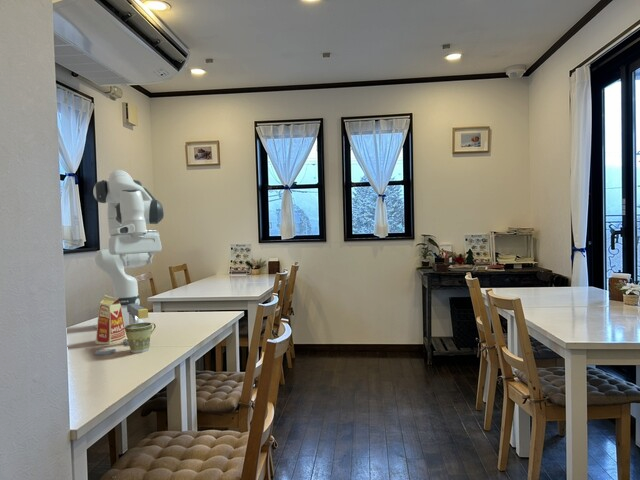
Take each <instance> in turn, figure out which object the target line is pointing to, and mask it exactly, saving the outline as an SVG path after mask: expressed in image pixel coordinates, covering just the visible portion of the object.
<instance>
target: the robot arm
mask: <svg viewBox="0 0 640 480" xmlns="http://www.w3.org/2000/svg"><path fill="white" fill-rule="evenodd" d="M108 176H109V177H108V178H107V179H108V180H107V179H106V180H105V179H103V180H100V181H97V182H96V183H94V186H93V197H94V199H95V200H96V201H97V202H98V203H100V204H107V212H106V213H107V225H108V226H107V228H108V233H109V234H108V235H109V236H110V237H109V239H108V247H105V248H103V249H99V250H98V251H97V252H96V253H95V256H94V262H95V265H96V266H97V268H99V269H100V270H101V271H103V272H104V273H106V274H107V275H108V277H109V279H110V280H111V282H112V288H113V295H114V298H119V299H118V301H119V302H120V304H121V309H122V313H123V319H124V325H125V326H127V325H129V313H128V312H127V305H128V304H134V303H138V305H139V306H141V299H140V294H139V288H138V287H139V286H138V280H137V278H136V277H134V276H132V275H130V274H127V273H126V272H125V269H132V268H133V269H134V268H139V267H143V266H146V265H152V264H153V261H152V260H153V257H154V255H155V253H160V252H162V248H163V247H162V242H161V238H160V237H161V235H160V232H159V231H158V230H156V229H147V225H148V224H149V225H159V223H160V222H161V221H162V220H163V219H164V214H165V211H164V208H163V205H162V203H161V202H160V201H159V200H157V199H156V198H155V197H154V196H153V195H152V194H151V192H150V191H149V190H148V189H147V188H146V187H144V186H143V184H142V182H141V181H140V180H138V179H133V178H132V176H131V175H130V174H129V173H128V172H127V171H125V170H122V169H116V170H113V171H112V172H111V173H110V174H109V175H108ZM138 322H139V323H143V322H145V321H144V318H143V319H139V318H138ZM95 328H96V329H97V324H95Z"/></svg>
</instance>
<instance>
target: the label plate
mask: <svg viewBox="0 0 640 480" xmlns="http://www.w3.org/2000/svg"><path fill="white" fill-rule="evenodd" d="M116 352H117V348H101V349H99V350H96V351H95V355H112V354H114V353H116Z"/></svg>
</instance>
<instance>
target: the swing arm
mask: <svg viewBox="0 0 640 480" xmlns="http://www.w3.org/2000/svg"><path fill="white" fill-rule="evenodd" d="M127 312H128V313H132V314H133V315H135V316H136V317H138V318H139V319H143V320H144V319H148V318H149V310H148V308H145V307H143V306H142V305H140V306H139V305H138V303H134V304H128V305H127Z"/></svg>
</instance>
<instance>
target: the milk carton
mask: <svg viewBox="0 0 640 480" xmlns="http://www.w3.org/2000/svg"><path fill="white" fill-rule="evenodd" d="M103 296H104V297H103V299H102V300H101V301H100V302H99V307H98V316H97V322H96V323H97V324H96V325H97V328H96V336H95V337H96V338H95V344H98V345H112V344H115V343H119V342H123V340H125V339H127V335H126V332H125V325H124V319H123V313H122V309H121V304H120V302H119V301H118V299H119V298H114V297H113V296H110V295H106V294H104V295H103Z"/></svg>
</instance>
